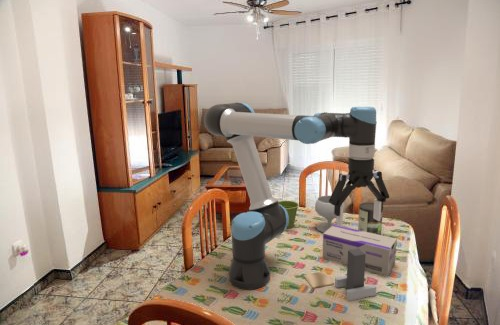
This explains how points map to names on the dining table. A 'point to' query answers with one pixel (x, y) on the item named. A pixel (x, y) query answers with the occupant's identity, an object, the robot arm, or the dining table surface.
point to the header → (355, 289)
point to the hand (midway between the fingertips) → (358, 222)
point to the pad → (318, 279)
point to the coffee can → (369, 219)
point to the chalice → (326, 212)
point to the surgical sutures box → (373, 245)
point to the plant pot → (290, 211)
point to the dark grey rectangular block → (355, 269)
